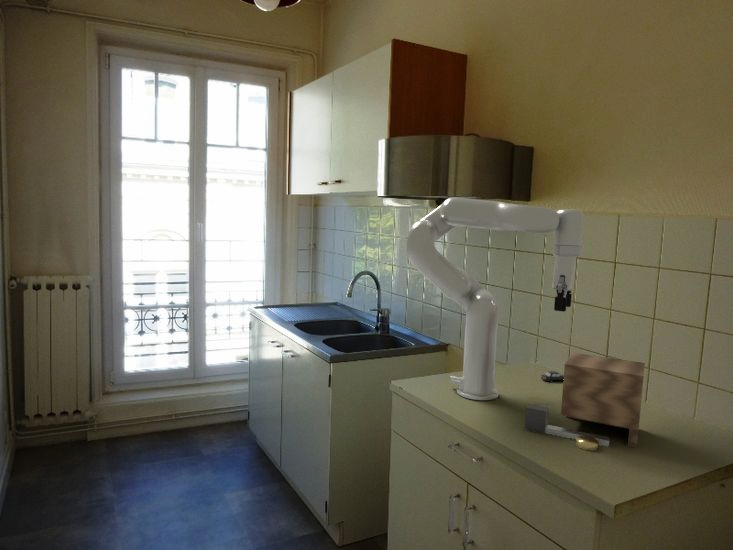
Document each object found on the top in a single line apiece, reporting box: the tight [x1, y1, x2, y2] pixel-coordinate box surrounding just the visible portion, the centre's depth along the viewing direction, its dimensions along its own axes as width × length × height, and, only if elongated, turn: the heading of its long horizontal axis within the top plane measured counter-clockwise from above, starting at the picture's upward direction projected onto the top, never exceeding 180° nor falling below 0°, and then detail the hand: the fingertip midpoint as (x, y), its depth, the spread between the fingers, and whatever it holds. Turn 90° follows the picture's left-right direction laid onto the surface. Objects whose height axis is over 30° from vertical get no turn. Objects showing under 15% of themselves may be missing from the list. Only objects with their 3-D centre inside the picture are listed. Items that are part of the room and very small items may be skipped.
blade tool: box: [524, 403, 611, 447], centre depth 137 cm, size 20×4×6 cm, turn 62°
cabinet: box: [560, 352, 646, 449], centre depth 141 cm, size 18×14×18 cm
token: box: [575, 436, 599, 451], centre depth 132 cm, size 5×5×2 cm
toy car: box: [535, 359, 564, 382], centre depth 184 cm, size 4×12×8 cm, turn 105°
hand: (562, 308), depth 161 cm, fingers open, 9 cm apart
